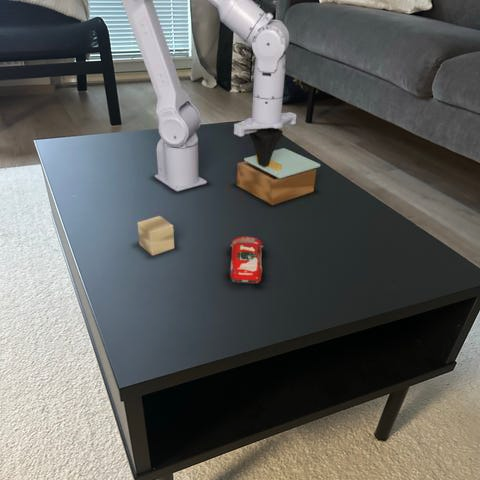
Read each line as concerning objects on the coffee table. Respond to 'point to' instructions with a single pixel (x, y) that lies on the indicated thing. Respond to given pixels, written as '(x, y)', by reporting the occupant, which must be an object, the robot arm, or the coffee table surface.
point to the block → (156, 235)
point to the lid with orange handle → (284, 163)
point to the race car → (246, 260)
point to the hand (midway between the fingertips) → (263, 164)
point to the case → (274, 183)
